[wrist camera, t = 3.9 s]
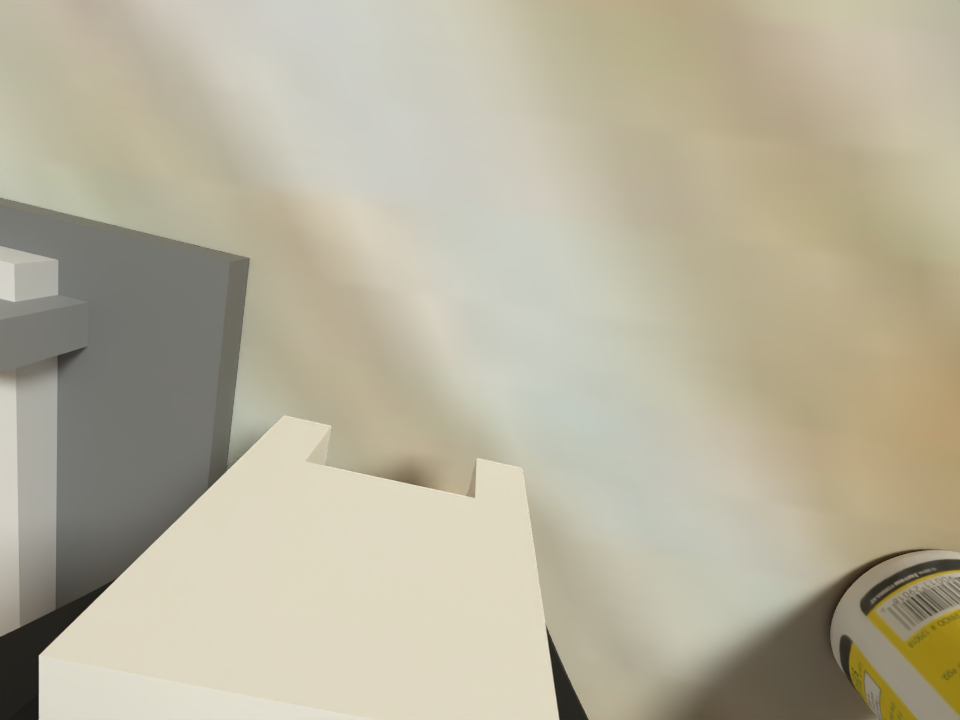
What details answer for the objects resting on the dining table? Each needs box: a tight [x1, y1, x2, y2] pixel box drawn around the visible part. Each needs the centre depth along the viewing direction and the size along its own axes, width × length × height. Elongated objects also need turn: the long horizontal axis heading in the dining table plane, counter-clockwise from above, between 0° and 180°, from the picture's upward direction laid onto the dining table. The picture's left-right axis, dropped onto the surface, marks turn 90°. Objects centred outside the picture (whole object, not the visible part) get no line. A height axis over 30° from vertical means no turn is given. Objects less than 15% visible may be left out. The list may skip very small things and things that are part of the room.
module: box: [39, 415, 559, 720], centre depth 9 cm, size 6×5×6 cm
